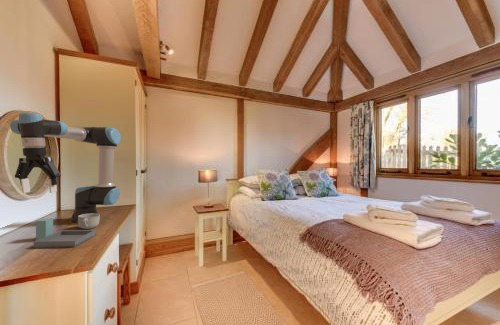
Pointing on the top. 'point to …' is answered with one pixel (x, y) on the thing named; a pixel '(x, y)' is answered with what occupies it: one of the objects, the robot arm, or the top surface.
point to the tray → (65, 239)
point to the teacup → (88, 220)
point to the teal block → (44, 228)
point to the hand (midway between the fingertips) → (39, 192)
